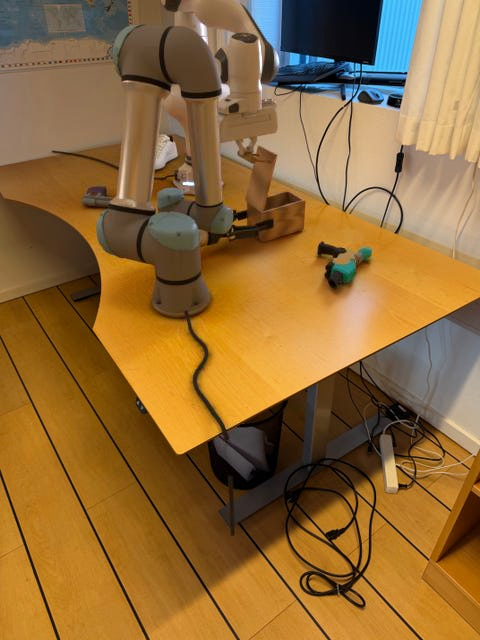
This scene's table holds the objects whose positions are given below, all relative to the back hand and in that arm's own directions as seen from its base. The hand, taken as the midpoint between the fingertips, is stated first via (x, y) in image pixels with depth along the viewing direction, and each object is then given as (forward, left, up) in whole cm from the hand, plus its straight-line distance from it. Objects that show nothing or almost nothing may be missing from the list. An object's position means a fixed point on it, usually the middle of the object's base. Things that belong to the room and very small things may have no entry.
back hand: (246, 153), depth 138 cm
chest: (0, +12, -27) cm, 30 cm away
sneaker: (-86, +11, -28) cm, 91 cm away
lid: (0, +6, -9) cm, 10 cm away
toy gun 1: (-57, -25, -28) cm, 68 cm away
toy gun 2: (+31, +10, -28) cm, 43 cm away
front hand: (0, +7, -22) cm, 23 cm away
